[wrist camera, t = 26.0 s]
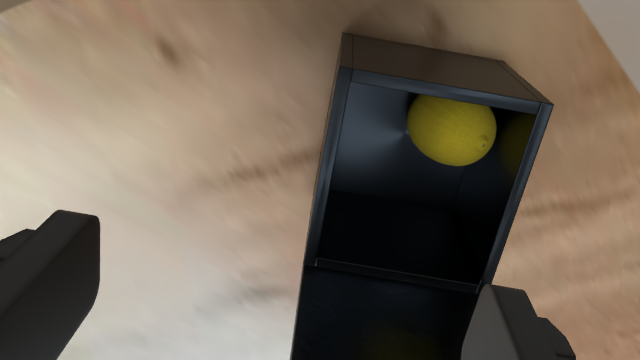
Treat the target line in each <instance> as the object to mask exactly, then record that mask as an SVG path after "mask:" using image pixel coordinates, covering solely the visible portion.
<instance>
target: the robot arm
mask: <svg viewBox="0 0 640 360" xmlns="http://www.w3.org/2000/svg"><path fill="white" fill-rule="evenodd" d="M99 282H100V222H99V219H98V217H97V216H94V215H88V214H83V213H77V212H71V211H65V210H57V211H56V212H54V213H53V214H52V215H51V216H50V217H49V218H48V219H47V220H46V221H45V222H44V223H43V224H42V225H41V226H39V227H38V228H37V229H36V230H31V229H25V230H22V231H20V232H18V233H16V234H13V235H11V236H9V237H7V238H5V239H2V240H1V241H0V360H57V358H58V357H59V355H60V354H61V352H62V351H63V349H64V348H65V346H66V345H67V344H68V342H69V341H70V339H71V338H72V336H73V335H74V333H75V332H76V331H77V329H78V328H79V326H80V325H81V323H82V322H83V320H84V319H85V317H86V316H87V315H88V313H89V312H90V310H91V308H92V306H93V304H94V302H95V299H96V296H97V293H98V289H99ZM461 360H576V356H575V354H574V352H573V350H572V348H571V346H570V344H569V342H568V340H567V338H566V337H565V336H564V335H563V334H562V333H561V332H560V331H559V330H558V329H557V328H556V327H555V326H554V325H553V324H552V323H551V322H550V321H549V320H548V319H547V318H541V317H537V315H536V313H535V311H534V308H533V306H532V304H531V302H530V300H529V298H528V296H527V294H526V292H525V291H524V290H521V289H515V288H509V287H503V286H497V285H492V284H486V285H485V286H484V287H483V288H482V290H481V293H480V295H479V298H478V301H477V304H476V307H475V310H474V313H473V316H472V319H471V321H470V324H469V327H468V330H467V333H466V336H465V339H464V342H463V346H462V351H461Z"/></svg>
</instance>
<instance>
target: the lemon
mask: <svg viewBox="0 0 640 360" xmlns="http://www.w3.org/2000/svg"><path fill="white" fill-rule="evenodd" d="M496 127H497V126H496V120H495V116H494V114H493V112H492V111H491V109H490V107H489V106H484V105H478V104H473V103H467V102H461V101H456V100H450V99H444V98H439V97H433V96H427V95H422V94H418V95H417V96H416V98H415V99H414V100H413V102H412V103H411V105H410V107H409V111H408V114H407V128H408V132H409V135H410V137H411V139H412V141H413V143H414V144H415V145H416V146H417V148H418V149H419V150H420V151H421V152H422V153H423V154H425V155H426V156H428V157H429V158H431V159H433V160H435V161H437V162H439V163H442V164H446V165H452V166H464V165H469V164H472V163H474V162H476V161H478V160H479V159H481V158H482V157H483V156H484V155H486V154H487V152H488V151H489V150H490V148H491V147H492V145H493V143H494V140H495V137H496Z"/></svg>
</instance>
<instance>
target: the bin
mask: <svg viewBox="0 0 640 360" xmlns="http://www.w3.org/2000/svg"><path fill="white" fill-rule="evenodd" d="M418 94H422V95H427V96H433V97H439V98H444V99H450V100H456V101H461V102H467V103H473V104H478V105H484V106H489V107H490V109H491V111H492V112H493V114H494V116H495V120H496V126H497V127H496V137H495V140H494V143H493V145H492V147H491V148H490V150H489V151H488V152H487V154H486V155H484V156H483V157H482V158H481V159H479V160H478V161H476V162H474V163H472V164H469V165H464V166H452V165H446V164H442V163H439V162H437V161H435V160H433V159H431V158H429V157H428V156H426V155H425V154H423V153H422V152H421V151H420V150H419V149H418V148H417V146H416V145H415V144H414V143H413V141H412V139H411V137H410V135H409V132H408V128H407V114H408V111H409V107H410V105H411V103H412V102H413V100H414V99H415V98H416V96H417V95H418ZM553 106H554V104H553V103H551V102H550V101H549V100H548V99H547V98H546V97H544V96H543V95H542V94H541V93H540V92H539V91H538V90H536V89H535V88H534V87H533V86H532V85H531V84H529V83H528V82H527V81H526V80H525V79H524V78H522V77H521V76H520V75H519V74H518V73H517V72H515V71H514V70H513V69H512V68H511V67H510V66H509V65H507V64H506V63H505V62H504V61H500V60H495V59H489V58H483V57H478V56H472V55H467V54H461V53H456V52H450V51H444V50H439V49H433V48H428V47H422V46H417V45H411V44H405V43H400V42H394V41H389V40H383V39H378V38H372V37H366V36H361V35H355V34H350V33H344V32H342V37H341V42H340V48H339V53H338V59H337V64H336V70H335V76H334V81H333V87H332V92H331V98H330V103H329V109H328V114H327V120H326V126H325V131H324V137H323V142H322V148H321V153H320V159H319V165H318V170H317V176H316V181H315V187H314V193H313V200H312V206H311V213H310V220H309V227H308V234H307V241H306V247H305V254H304V261H303V265H310V266H316V267H322V268H328V269H333V270H339V271H345V272H351V273H357V274H363V275H369V276H374V277H380V278H386V279H392V280H398V281H404V282H410V283H415V284H421V285H427V286H433V287H439V288H445V289H451V290H456V291H462V292H468V293H474V294H480V293H481V290H482V288H483V287H484V286H485V285H486V284H492V281H493V278H494V275H495V272H496V269H497V266H498V264H499V261H500V258H501V255H502V252H503V249H504V246H505V244H506V241H507V238H508V235H509V232H510V229H511V226H512V223H513V221H514V218H515V215H516V212H517V209H518V206H519V203H520V201H521V198H522V195H523V192H524V189H525V186H526V183H527V181H528V178H529V175H530V172H531V169H532V166H533V163H534V161H535V158H536V155H537V152H538V149H539V146H540V143H541V141H542V138H543V135H544V132H545V129H546V126H547V123H548V120H549V118H550V115H551V112H552V109H553Z"/></svg>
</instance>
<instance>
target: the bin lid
mask: <svg viewBox="0 0 640 360" xmlns="http://www.w3.org/2000/svg"><path fill="white" fill-rule="evenodd" d="M479 295H480V294H474V293H468V292H462V291H456V290H451V289H445V288H439V287H433V286H427V285H421V284H415V283H410V282H404V281H398V280H392V279H386V278H380V277H374V276H369V275H363V274H357V273H351V272H345V271H339V270H333V269H328V268H322V267H316V266H310V265H303V268H302V274H301V281H300V288H299V296H298V303H297V310H296V318H295V325H294V333H293V340H292V347H291V355H290V360H461V351H462V346H463V342H464V339H465V336H466V333H467V330H468V327H469V324H470V321H471V319H472V316H473V313H474V310H475V307H476V304H477V301H478V298H479Z"/></svg>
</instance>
